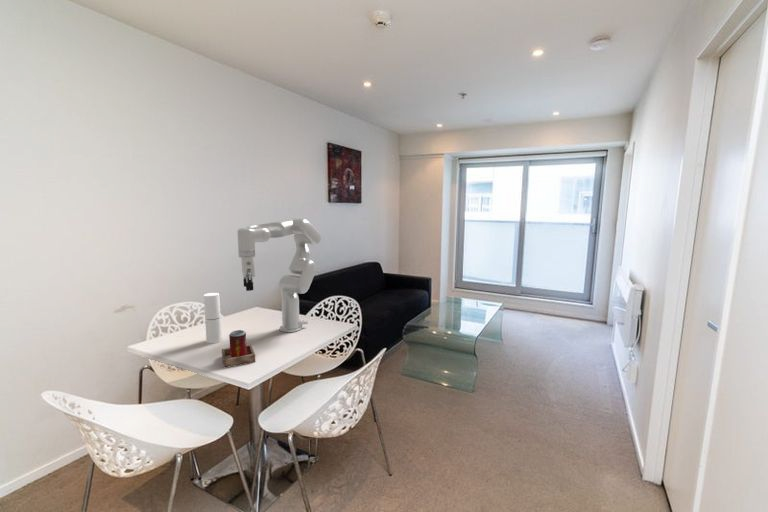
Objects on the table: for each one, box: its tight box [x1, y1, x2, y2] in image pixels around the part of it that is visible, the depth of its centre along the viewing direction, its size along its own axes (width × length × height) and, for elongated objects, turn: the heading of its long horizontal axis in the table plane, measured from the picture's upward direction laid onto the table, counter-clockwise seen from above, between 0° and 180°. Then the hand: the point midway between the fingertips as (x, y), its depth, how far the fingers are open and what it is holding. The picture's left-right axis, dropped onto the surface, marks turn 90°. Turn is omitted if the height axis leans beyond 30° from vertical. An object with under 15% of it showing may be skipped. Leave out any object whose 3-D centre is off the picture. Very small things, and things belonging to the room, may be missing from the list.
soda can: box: [228, 329, 247, 358], centre depth 157 cm, size 7×7×12 cm
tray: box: [221, 344, 256, 368], centre depth 157 cm, size 13×13×4 cm
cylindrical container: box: [203, 292, 223, 344], centre depth 177 cm, size 7×7×25 cm
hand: (248, 288), depth 167 cm, fingers open, 9 cm apart
